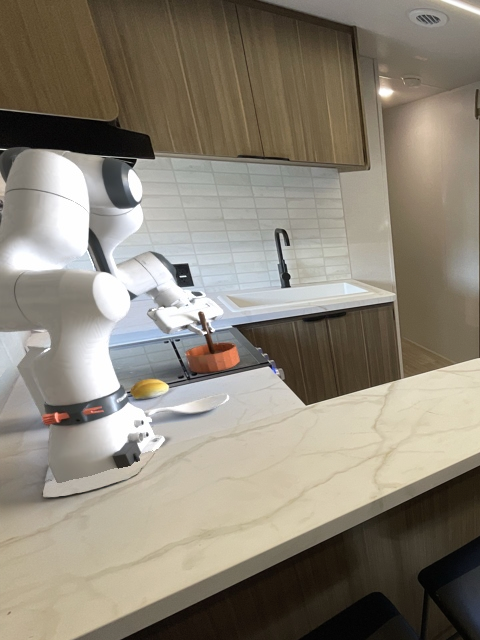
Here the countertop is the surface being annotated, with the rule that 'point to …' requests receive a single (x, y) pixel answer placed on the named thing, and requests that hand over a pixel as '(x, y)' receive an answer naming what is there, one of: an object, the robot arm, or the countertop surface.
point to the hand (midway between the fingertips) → (208, 333)
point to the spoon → (193, 405)
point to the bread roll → (149, 389)
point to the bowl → (212, 358)
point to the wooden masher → (208, 336)
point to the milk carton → (28, 378)
